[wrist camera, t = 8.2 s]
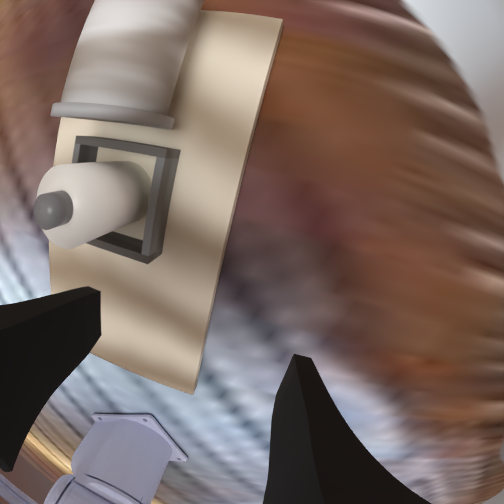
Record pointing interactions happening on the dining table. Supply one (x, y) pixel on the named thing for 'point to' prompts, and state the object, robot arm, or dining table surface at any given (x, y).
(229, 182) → the motor mount
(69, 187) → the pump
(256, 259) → the dining table surface
